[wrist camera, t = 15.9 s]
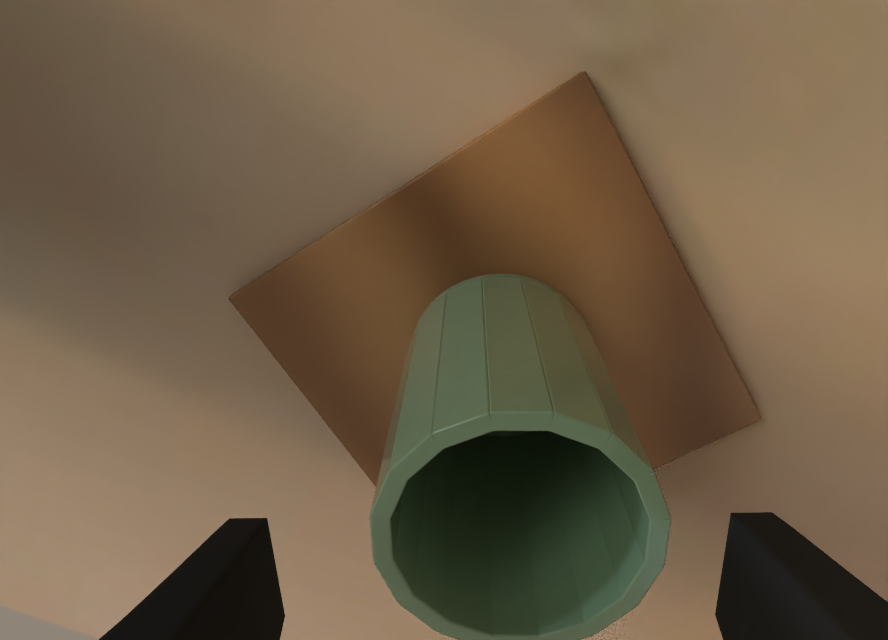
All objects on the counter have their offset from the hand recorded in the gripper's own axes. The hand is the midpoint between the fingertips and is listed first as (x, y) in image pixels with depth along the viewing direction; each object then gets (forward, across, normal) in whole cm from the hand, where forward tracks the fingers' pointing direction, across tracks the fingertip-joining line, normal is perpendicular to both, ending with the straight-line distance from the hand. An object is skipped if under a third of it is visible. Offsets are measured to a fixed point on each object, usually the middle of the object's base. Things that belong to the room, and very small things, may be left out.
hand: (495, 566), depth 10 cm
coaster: (+10, 0, +1) cm, 10 cm away
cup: (+10, 0, +1) cm, 10 cm away
